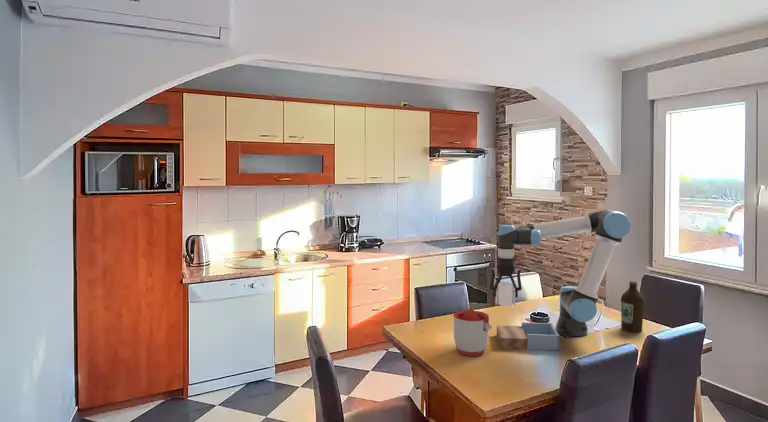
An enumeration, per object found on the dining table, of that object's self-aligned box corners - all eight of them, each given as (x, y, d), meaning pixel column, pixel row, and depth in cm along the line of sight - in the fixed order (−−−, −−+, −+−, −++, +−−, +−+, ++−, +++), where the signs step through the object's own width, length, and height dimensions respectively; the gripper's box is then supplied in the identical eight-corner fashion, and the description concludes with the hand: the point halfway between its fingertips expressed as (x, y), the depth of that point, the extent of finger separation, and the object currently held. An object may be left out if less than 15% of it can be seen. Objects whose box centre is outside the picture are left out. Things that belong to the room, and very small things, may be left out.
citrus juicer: (485, 362, 201) (485, 316, 200) (447, 354, 211) (447, 310, 209) (497, 350, 215) (497, 307, 213) (461, 343, 224) (461, 302, 222)
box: (551, 337, 231) (551, 323, 231) (559, 351, 213) (559, 335, 213) (521, 336, 233) (521, 322, 233) (527, 349, 215) (527, 334, 215)
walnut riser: (521, 336, 233) (521, 326, 233) (527, 349, 215) (527, 338, 215) (496, 335, 235) (496, 325, 234) (500, 348, 217) (500, 337, 217)
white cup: (513, 306, 224) (514, 286, 224) (496, 305, 226) (497, 285, 226) (513, 302, 232) (513, 282, 231) (496, 301, 234) (497, 281, 233)
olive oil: (630, 325, 249) (631, 278, 247) (648, 331, 239) (650, 282, 237) (615, 327, 245) (616, 280, 243) (633, 334, 235) (634, 284, 233)
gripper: (527, 256, 229) (526, 302, 231) (484, 255, 233) (483, 300, 235) (528, 259, 222) (528, 306, 224) (484, 257, 225) (484, 304, 227)
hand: (505, 303), depth 229 cm, fingers closed on white cup, 7 cm apart
